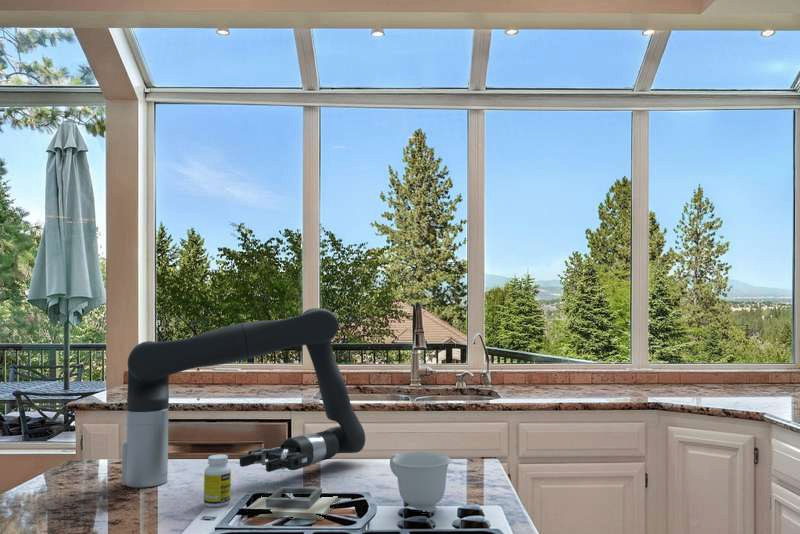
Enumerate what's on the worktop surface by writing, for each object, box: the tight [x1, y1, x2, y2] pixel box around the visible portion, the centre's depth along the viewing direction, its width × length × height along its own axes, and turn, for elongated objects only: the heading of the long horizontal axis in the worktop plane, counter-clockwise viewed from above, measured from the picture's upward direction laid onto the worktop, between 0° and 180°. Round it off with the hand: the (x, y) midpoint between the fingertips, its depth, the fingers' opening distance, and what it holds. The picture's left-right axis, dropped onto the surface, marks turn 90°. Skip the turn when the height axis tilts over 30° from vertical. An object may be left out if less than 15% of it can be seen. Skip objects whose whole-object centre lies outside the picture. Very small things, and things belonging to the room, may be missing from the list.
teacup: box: [389, 451, 452, 513], centre depth 129 cm, size 12×15×10 cm
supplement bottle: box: [203, 453, 232, 508], centre depth 133 cm, size 5×5×10 cm
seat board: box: [246, 486, 341, 521], centre depth 130 cm, size 16×14×3 cm
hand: (253, 464), depth 142 cm, fingers open, 8 cm apart
